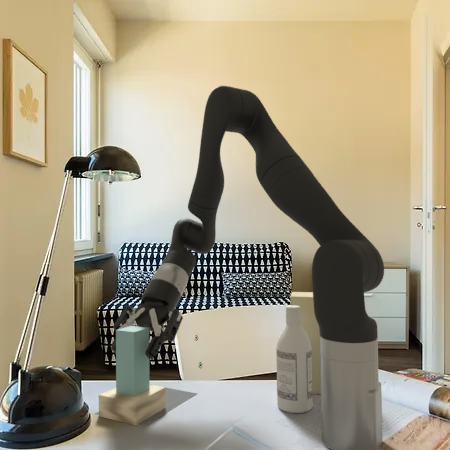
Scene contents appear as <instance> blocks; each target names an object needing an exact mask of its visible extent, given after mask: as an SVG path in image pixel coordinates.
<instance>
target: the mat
mask: <svg viewBox="0 0 450 450" xmlns="http://www.w3.org/2000/svg"><path fill="white" fill-rule="evenodd" d="M164 387H165V386H164ZM165 394H166V408H164V409H163V410H161V411H159V412H158V413H156V414H154V415H153V416H151V417H149V418H147V419H146V420H144V421H142V422H141V423H139V424H137V425H136V426H142V427H145V426H147V425H149V424H150V423H151V422H153V421H155V420H157V419H158V418H160V417H162V416H164V415H165V414H167V413H168V412H170V411H171V410H173V409H175V408H177V407H178V406H180V405H182V404H183V403H185V402H186V401H189V400H190V399H191V398H193V397H194V396H196V395H197V394H198V393H196V392H192V391H186V390H181V389H175V388H171V387H170V388H169V387H165ZM94 415H98V416H99V411H98V412H96V413H95V414H94Z"/></svg>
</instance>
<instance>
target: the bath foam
mask: <svg viewBox="0 0 450 450" xmlns="http://www.w3.org/2000/svg"><path fill="white" fill-rule="evenodd" d="M275 353H276V354H275V355H276V400H277V403H276V404H277V406H278V408H279V409H280V410H282V411H283V412H285V413H286V412H287V413H291V414H304V413H307V412H309V411H311V410H312V409H313V403H314V401H313V394H312V349H311V343H310V340H309V337H308V335H307V333H306V332H305V330H304V329H303V327H302V326H301V308H300V306H296V305H286V306H285V325H284V327H283V329H282V330H281V331H280V334H279V336H278V338H277V342H276V352H275Z"/></svg>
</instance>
